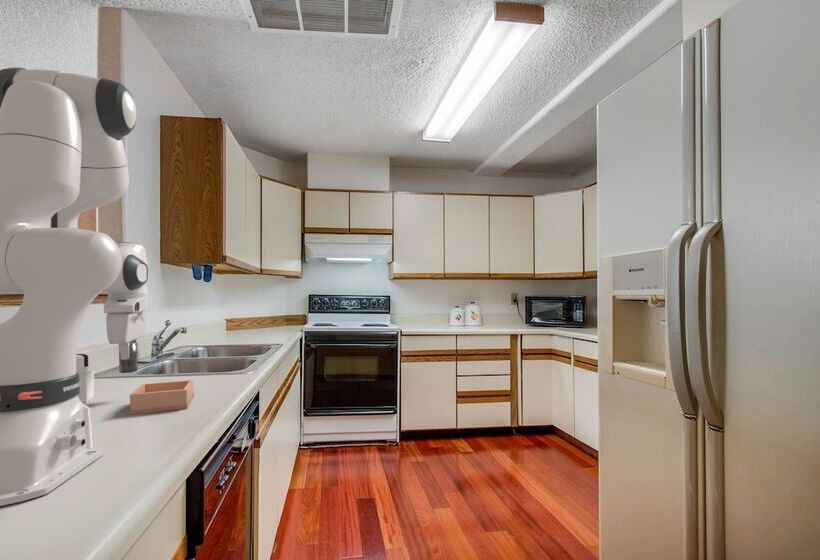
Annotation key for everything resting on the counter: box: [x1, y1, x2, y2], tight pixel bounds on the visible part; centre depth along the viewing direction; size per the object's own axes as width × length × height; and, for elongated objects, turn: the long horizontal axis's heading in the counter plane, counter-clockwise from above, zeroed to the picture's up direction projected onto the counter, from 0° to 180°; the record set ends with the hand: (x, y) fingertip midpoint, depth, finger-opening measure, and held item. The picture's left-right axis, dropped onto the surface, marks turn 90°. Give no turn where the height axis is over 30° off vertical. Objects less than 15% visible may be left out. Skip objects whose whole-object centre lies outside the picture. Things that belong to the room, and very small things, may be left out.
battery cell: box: [118, 341, 138, 374], centre depth 110 cm, size 4×4×8 cm
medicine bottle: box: [76, 353, 95, 404], centre depth 108 cm, size 7×7×12 cm
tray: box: [129, 379, 195, 415], centre depth 103 cm, size 12×12×4 cm
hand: (128, 357), depth 110 cm, fingers closed on battery cell, 4 cm apart
